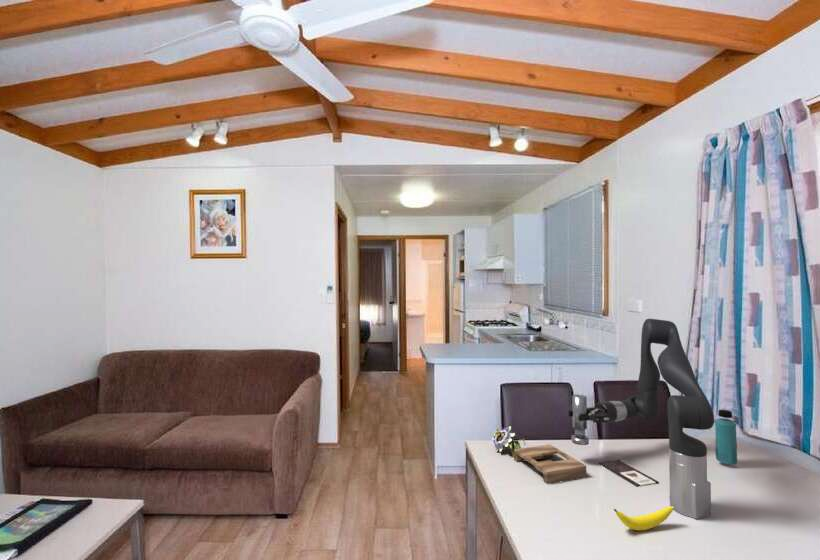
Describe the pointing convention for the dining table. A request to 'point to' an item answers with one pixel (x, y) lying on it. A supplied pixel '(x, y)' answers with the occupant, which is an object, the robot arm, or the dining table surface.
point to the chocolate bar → (628, 473)
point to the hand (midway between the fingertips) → (573, 415)
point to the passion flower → (505, 440)
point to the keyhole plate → (551, 463)
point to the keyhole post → (578, 408)
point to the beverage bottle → (726, 438)
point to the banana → (645, 519)
